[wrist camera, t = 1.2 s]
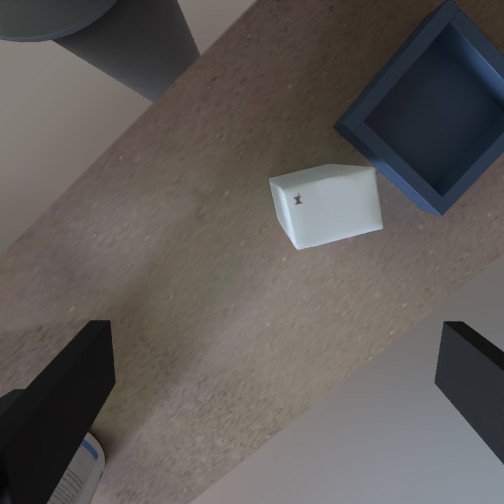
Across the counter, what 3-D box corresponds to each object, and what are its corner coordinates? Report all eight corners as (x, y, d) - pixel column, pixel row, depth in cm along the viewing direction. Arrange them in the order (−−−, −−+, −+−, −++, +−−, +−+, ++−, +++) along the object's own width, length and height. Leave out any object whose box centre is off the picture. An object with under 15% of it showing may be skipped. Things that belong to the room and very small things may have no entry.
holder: (332, 126, 34) (343, 123, 30) (427, 14, 32) (450, -3, 28) (422, 210, 36) (441, 216, 32) (517, 110, 34) (548, 105, 30)
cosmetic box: (277, 221, 36) (294, 252, 24) (267, 177, 35) (279, 187, 23) (339, 206, 36) (386, 230, 24) (331, 161, 35) (375, 164, 23)
